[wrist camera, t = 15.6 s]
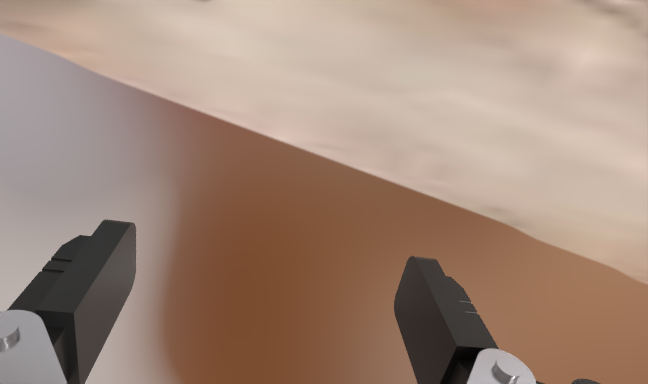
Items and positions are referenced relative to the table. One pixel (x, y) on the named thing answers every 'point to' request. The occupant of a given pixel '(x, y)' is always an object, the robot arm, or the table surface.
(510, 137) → the table surface
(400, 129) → the table surface
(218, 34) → the table surface
